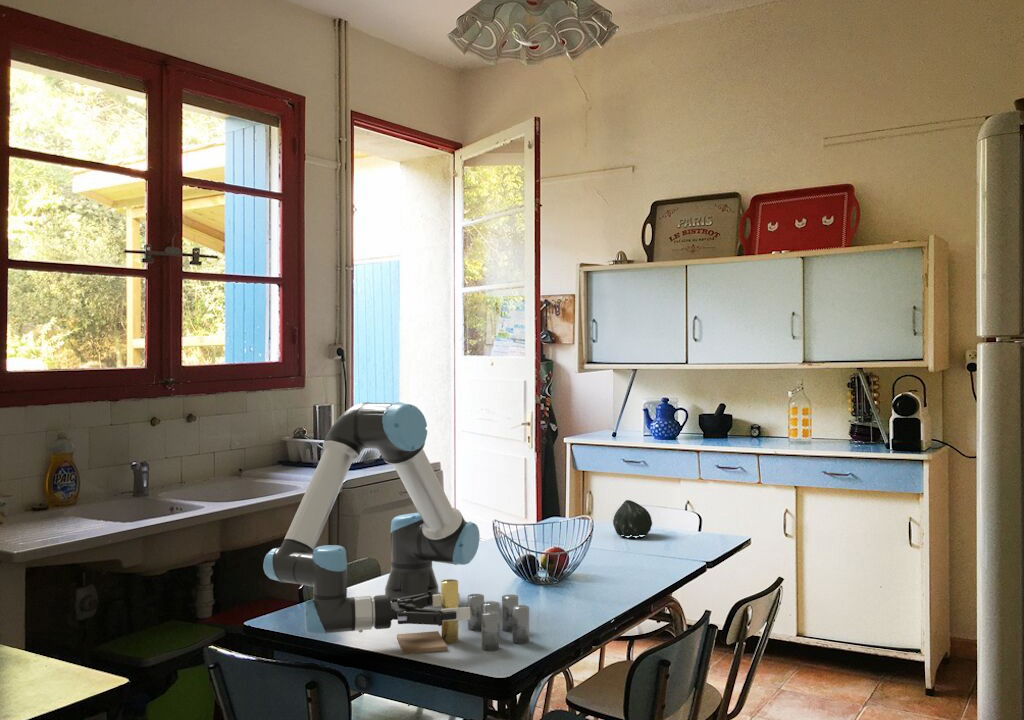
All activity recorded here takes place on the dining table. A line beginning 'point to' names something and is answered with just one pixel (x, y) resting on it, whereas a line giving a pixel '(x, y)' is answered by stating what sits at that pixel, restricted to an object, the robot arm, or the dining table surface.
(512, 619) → the spacers
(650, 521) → the squash
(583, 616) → the dining table surface
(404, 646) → the board
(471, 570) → the dining table surface
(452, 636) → the cylinder
